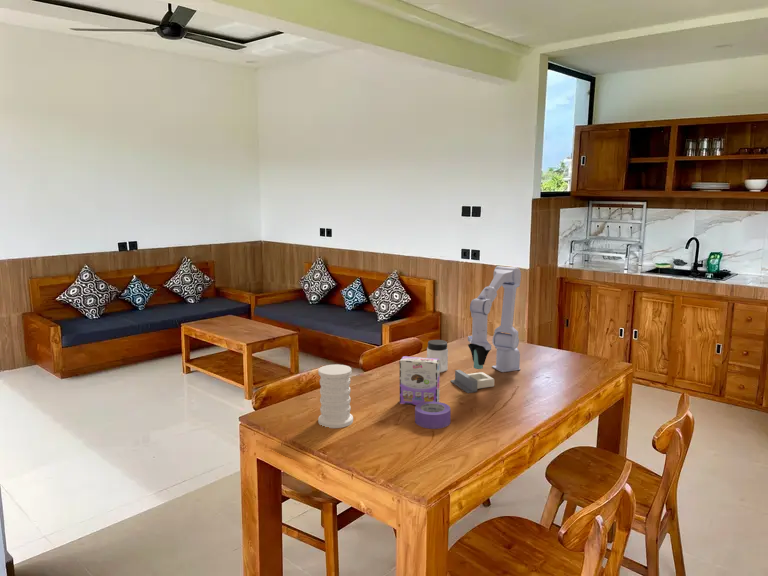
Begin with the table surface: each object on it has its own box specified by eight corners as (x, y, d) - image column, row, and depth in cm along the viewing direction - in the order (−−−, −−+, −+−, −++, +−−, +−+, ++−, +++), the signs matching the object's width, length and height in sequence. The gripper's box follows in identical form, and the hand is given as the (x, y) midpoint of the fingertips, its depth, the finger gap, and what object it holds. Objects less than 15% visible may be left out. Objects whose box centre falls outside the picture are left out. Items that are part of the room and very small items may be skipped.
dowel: (472, 366, 232) (472, 349, 231) (480, 365, 233) (480, 348, 232) (476, 369, 229) (476, 352, 228) (484, 368, 230) (485, 351, 229)
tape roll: (408, 424, 195) (408, 409, 194) (424, 412, 205) (424, 398, 204) (441, 432, 189) (441, 417, 188) (456, 419, 199) (456, 405, 198)
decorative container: (341, 430, 189) (341, 377, 186) (311, 424, 195) (310, 371, 191) (359, 418, 200) (358, 367, 196) (330, 412, 205) (329, 362, 202)
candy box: (439, 401, 214) (440, 358, 212) (436, 407, 209) (437, 362, 206) (402, 398, 218) (403, 355, 215) (398, 403, 213) (399, 359, 210)
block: (482, 379, 238) (482, 372, 237) (494, 386, 230) (494, 378, 229) (462, 381, 235) (462, 374, 234) (473, 389, 227) (474, 381, 226)
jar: (437, 374, 245) (437, 346, 243) (422, 369, 251) (423, 342, 249) (451, 369, 251) (451, 342, 249) (436, 365, 257) (437, 338, 255)
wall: (459, 380, 237) (459, 369, 236) (477, 391, 224) (477, 380, 223) (450, 381, 236) (450, 370, 235) (467, 393, 223) (468, 381, 222)
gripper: (461, 326, 234) (460, 359, 236) (480, 334, 220) (479, 369, 223) (477, 324, 236) (476, 357, 238) (496, 333, 223) (495, 367, 225)
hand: (478, 363), depth 231 cm, fingers closed on dowel, 4 cm apart
